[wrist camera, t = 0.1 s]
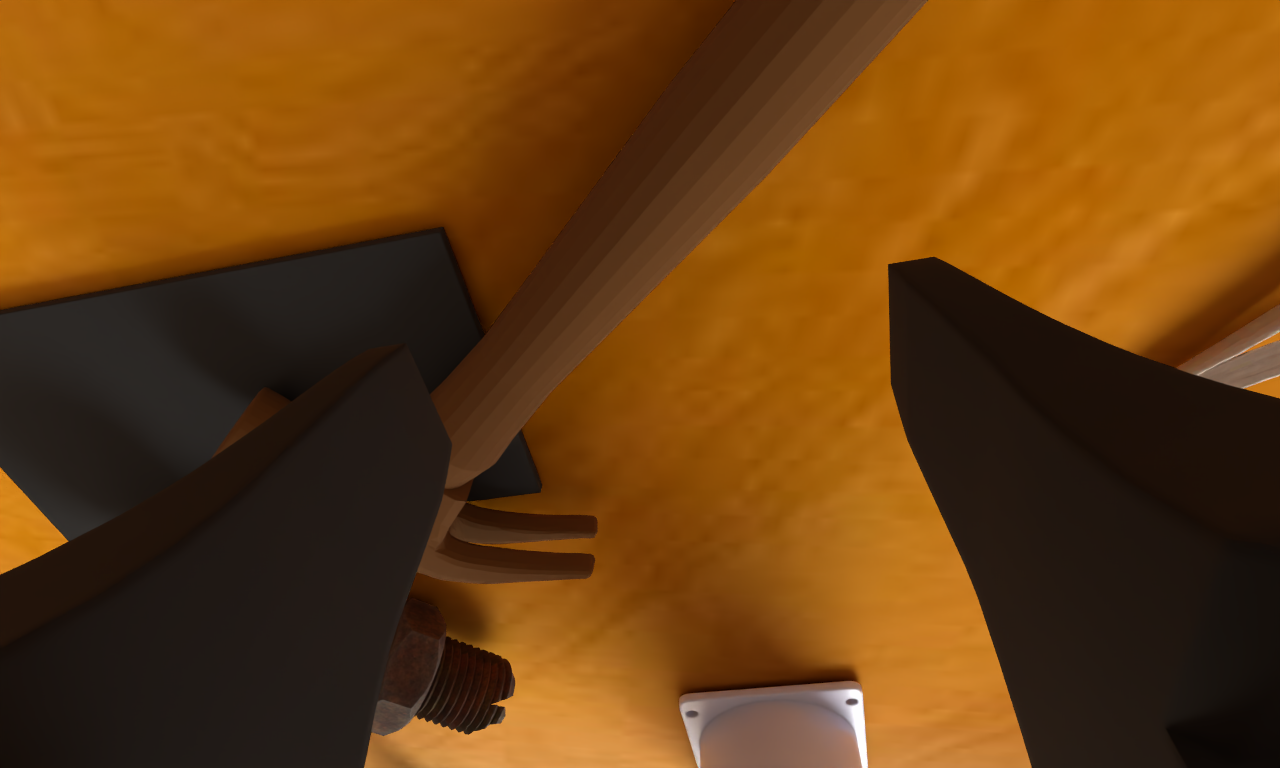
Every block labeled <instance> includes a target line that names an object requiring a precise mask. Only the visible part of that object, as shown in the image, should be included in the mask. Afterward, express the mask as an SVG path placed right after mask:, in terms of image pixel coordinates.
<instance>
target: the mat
mask: <svg viewBox="0 0 1280 768" xmlns="http://www.w3.org/2000/svg"><path fill="white" fill-rule="evenodd" d="M484 336H485V335H484V332H483V329H482V327H481V324H480V322H479V319H478V316H477V314H476V311H475V309H474V306H473V303H472V301H471V298H470V296H469V293H468V290H467V288H466V285H465V283H464V280H463V277H462V275H461V272H460V269H459V267H458V264H457V262H456V259H455V256H454V254H453V251H452V249H451V246H450V243H449V241H448V238H447V236H446V233H445V230H444V228H443V227H440V228H434V229H429V230H424V231H418V232H413V233H408V234H402V235H397V236H392V237H387V238H381V239H376V240H371V241H365V242H360V243H355V244H349V245H344V246H339V247H333V248H328V249H323V250H317V251H312V252H307V253H301V254H296V255H291V256H285V257H280V258H275V259H269V260H264V261H259V262H253V263H248V264H243V265H237V266H232V267H227V268H222V269H216V270H211V271H206V272H200V273H195V274H190V275H184V276H179V277H174V278H168V279H163V280H158V281H152V282H147V283H142V284H136V285H131V286H126V287H120V288H115V289H110V290H104V291H99V292H94V293H88V294H83V295H78V296H72V297H67V298H62V299H57V300H51V301H46V302H41V303H35V304H30V305H25V306H19V307H14V308H9V309H3V310H0V467H1V468H2V470H3V471H4V472H5V473H6V474H7V475H8V476H9V477H10V478H11V479H12V480H13V481H14V483H15V484H16V485H17V486H18V487H19V488H20V489H21V490H22V491H23V492H24V493H25V494H26V496H27V497H28V498H29V499H30V500H31V501H32V502H33V503H34V504H35V505H36V506H37V507H38V508H39V510H40V511H41V512H42V513H43V514H44V515H45V516H46V517H47V518H48V519H49V520H50V521H51V523H52V524H53V525H54V526H55V527H56V528H57V529H58V530H59V531H60V532H61V533H62V534H63V536H64V537H65V538H66V539H67V540H68V541H71V540H73V539H75V538H77V537H78V536H80V535H82V534H84V533H86V532H88V531H90V530H92V529H94V528H96V527H98V526H100V525H102V524H104V523H106V522H108V521H110V520H111V519H113V518H115V517H117V516H119V515H121V514H122V513H124V512H126V511H128V510H130V509H131V508H133V507H135V506H136V505H138V504H140V503H141V502H143V501H145V500H147V499H148V498H150V497H152V496H153V495H155V494H157V493H158V492H160V491H162V490H163V489H165V488H167V487H168V486H170V485H172V484H173V483H175V482H176V481H178V480H180V479H181V478H183V477H184V476H186V475H188V474H189V473H191V472H192V471H194V470H195V469H197V468H198V467H200V466H201V465H203V464H204V463H206V462H207V461H209V460H210V459H211V458H212V457H213V455H214V454H215V452H216V451H217V449H218V448H219V446H220V445H221V443H222V442H223V440H224V439H225V438H226V436H227V435H228V433H229V432H230V430H231V429H232V428H233V426H234V425H235V423H236V422H237V421H238V419H239V418H240V416H241V415H242V414H243V412H244V411H245V410H246V408H247V407H248V405H249V404H250V403H251V402H252V400H253V399H254V398H255V396H256V395H257V394H258V392H259V391H261V390H262V389H263V388H264V387H267V388H270V389H271V390H273V391H275V392H277V393H278V394H280V395H282V396H284V397H285V398H287V399H288V400H290V401H291V402H292V401H293V400H295V399H296V398H297V397H299V396H300V395H301V394H303V393H304V392H305V391H307V390H308V389H309V388H311V387H312V386H314V385H315V384H316V383H318V382H319V381H320V380H322V379H323V378H325V377H326V376H327V375H329V374H330V373H332V372H333V371H334V370H336V369H337V368H339V367H340V366H342V365H343V364H345V363H346V362H348V361H349V360H351V359H352V358H354V357H356V356H357V355H359V354H361V353H363V352H365V351H367V350H368V349H371V348H378V347H384V346H390V345H396V344H402V343H406V344H407V346H408V348H409V350H410V353H411V355H412V357H413V359H414V361H415V364H416V366H417V368H418V370H419V372H420V374H421V377H422V379H423V381H424V383H425V385H426V388H427V390H428V392H429V394H431V393H432V392H433V391H434V390H435V389H436V388H437V387H438V386H439V385H440V384H441V383H442V382H443V381H444V380H445V379H446V378H447V377H448V376H449V375H450V374H451V372H452V371H453V370H454V369H455V368H456V367H457V366H458V365H459V364H460V363H461V361H462V360H463V359H464V358H465V357H466V356H467V355H468V354H469V353H470V351H471V350H472V349H473V348H474V347H475V346H476V345H477V344H478V343H479V342H480V340H481V339H482V338H483V337H484ZM541 489H542V483H541V481H540V478H539V475H538V473H537V470H536V468H535V465H534V462H533V460H532V457H531V455H530V452H529V449H528V447H527V444H526V441H525V439H524V436H523V434H522V431H521V430H520V431H519V432H518V433H517V435H516V436H515V437H514V438H513V440H512V441H511V442H510V444H509V445H508V447H507V448H506V449H505V451H504V452H503V454H502V455H501V456H500V458H499V459H498V461H497V462H496V463H495V464H494V465H493V466H491V467H490V468H488V469H487V470H485V471H484V472H482V473H481V474H479V475H478V476H476V477H475V478H474V479H473V482H472V485H471V489H470V492H469V495H468V498H467V502H469V501H477V500H485V499H493V498H500V497H508V496H516V495H524V494H532V493H540V492H541Z"/></svg>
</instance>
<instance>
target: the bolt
mask: <svg viewBox="0 0 1280 768" xmlns="http://www.w3.org/2000/svg"><path fill="white" fill-rule="evenodd" d="M514 687H515V678H514V676H513V673H512V668H511V665H510V663H509V662H508V661H507V660H506V659H502V658H501V656H499V655H495V654H494V653H492V652H490V653H488V652H487V651H485V650H480V648H479V647H478V648H473V646H472V645H466V643H464V642H460V643H459V642H458V640H457V639H454V640H451V638H450V637H448V636H446V623H445V621H444V618H443V616H442V615H441V613H440V611H439V610H438V608H437V607H435V606H432V605H430V604H427V603H425V602H422V601H419V600H417V599H414V598H411V599H409V600H407V601H406V603H405V606H404V609H403V612H402V614H401V617H400V620H399V623H398V626H397V629H396V632H395V636H394V639H393V642H392V645H391V649H390V652H389V656H388V660H387V665H386V669H385V673H384V677H383V681H382V686H381V690H380V694H379V698H378V702H377V707H376V711H375V716H374V721H373V725H372V730H371V732H373V733H376V734H379V735H382V736H384V735H387V734H390V733H393V732H396V731H398V730H400V729H402V728H403V727H404V726H406V725H407V724H408V723H409V722H410V721H411V719H412V718H413V717H414V716H416V715H417V717H418V719H422V718H425V720H426V721H427V722H428V721H431V720H432V721H433V723H434V724H438V723H440V724H441V726H442V727H446V726H448V727H449V728H450V729H451V730H453V729H455V728H456V730H457V731H458V732H461V731H464V733H465V734H470V733H472V732H473V731H478V730H481V729H485V728H486V727H487V726H488V725H490V724H499V723H501V722H502V720H503V719H504V717H505V707H499V706H498V705H491V704H493V703H496V702H499V701H501V700H505V699H508V698H509V697H511V696H513V693H514Z"/></svg>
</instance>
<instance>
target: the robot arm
mask: <svg viewBox="0 0 1280 768" xmlns="http://www.w3.org/2000/svg"><path fill="white" fill-rule="evenodd" d="M888 277H889V321H890V365H891V386H892V389H893V393H894V396H895V400H896V403H897V407H898V410H899V414H900V417H901V420H902V424H903V427H904V430H905V433H906V437H907V440H908V442H909V444H910V447H911V449H912V451H913V454H914V456H915V458H916V460H917V462H918V465H919V467H920V469H921V471H922V473H923V476H924V478H925V480H926V482H927V484H928V487H929V489H930V491H931V493H932V495H933V497H934V500H935V502H936V504H937V506H938V508H939V510H940V512H941V515H942V517H943V519H944V521H945V523H946V525H947V528H948V530H949V532H950V534H951V536H952V538H953V541H954V543H955V545H956V547H957V549H958V551H959V554H960V556H961V558H962V560H963V562H964V564H965V567H966V569H967V572H968V574H969V577H970V579H971V581H972V584H973V586H974V589H975V591H976V594H977V597H978V599H979V602H980V605H981V608H982V611H983V615H984V618H985V621H986V624H987V627H988V630H989V633H990V636H991V639H992V642H993V645H994V648H995V651H996V654H997V657H998V660H999V663H1000V666H1001V669H1002V672H1003V675H1004V679H1005V682H1006V685H1007V688H1008V691H1009V694H1010V698H1011V701H1012V704H1013V707H1014V710H1015V713H1016V717H1017V720H1018V723H1019V726H1020V729H1021V733H1022V736H1023V739H1024V742H1025V746H1026V749H1027V753H1028V756H1029V759H1030V763H1031V766H1032V768H1280V399H1279V398H1275V397H1272V396H1268V395H1264V394H1260V393H1257V392H1253V391H1249V390H1246V389H1242V388H1238V387H1234V386H1231V385H1227V384H1224V383H1220V382H1217V381H1214V380H1210V379H1207V378H1204V377H1201V376H1197V375H1194V374H1191V373H1188V372H1185V371H1182V370H1179V369H1176V368H1174V367H1171V366H1168V365H1165V364H1162V363H1159V362H1156V361H1154V360H1151V359H1148V358H1145V357H1142V356H1139V355H1136V354H1134V353H1131V352H1129V351H1126V350H1123V349H1121V348H1118V347H1116V346H1113V345H1111V344H1108V343H1106V342H1104V341H1101V340H1099V339H1097V338H1095V337H1092V336H1090V335H1088V334H1085V333H1083V332H1081V331H1079V330H1076V329H1074V328H1072V327H1070V326H1067V325H1065V324H1063V323H1061V322H1059V321H1057V320H1055V319H1052V318H1050V317H1048V316H1046V315H1044V314H1042V313H1040V312H1038V311H1036V310H1034V309H1032V308H1030V307H1028V306H1026V305H1024V304H1022V303H1020V302H1019V301H1017V300H1015V299H1013V298H1011V297H1009V296H1007V295H1005V294H1003V293H1002V292H1000V291H998V290H996V289H994V288H992V287H991V286H989V285H987V284H985V283H983V282H981V281H980V280H978V279H976V278H974V277H972V276H971V275H969V274H967V273H965V272H963V271H961V270H960V269H958V268H956V267H954V266H952V265H950V264H948V263H946V262H944V261H942V260H940V259H938V258H936V257H930V258H924V259H918V260H911V261H905V262H899V263H893V264H888ZM451 450H452V442H451V440H450V438H449V436H448V434H447V431H446V429H445V427H444V425H443V423H442V420H441V418H440V416H439V414H438V412H437V410H436V407H435V405H434V403H433V401H432V399H431V396H430V394H429V392H428V390H427V388H426V385H425V383H424V381H423V379H422V377H421V374H420V372H419V370H418V368H417V366H416V364H415V361H414V359H413V357H412V355H411V353H410V350H409V348H408V346H407V344H406V343H402V344H396V345H390V346H384V347H378V348H371V349H368V350H367V351H365V352H363V353H361V354H359V355H357V356H356V357H354V358H352V359H351V360H349V361H348V362H346V363H345V364H343V365H342V366H340V367H339V368H337V369H336V370H334V371H333V372H332V373H330V374H329V375H327V376H326V377H325V378H323V379H322V380H320V381H319V382H318V383H316V384H315V385H314V386H312V387H311V388H309V389H308V390H307V391H305V392H304V393H303V394H301V395H300V396H299V397H297V398H296V399H295V400H293V401H292V402H290V403H289V404H288V405H286V406H285V407H284V408H282V409H281V410H280V411H278V412H277V413H276V414H274V415H273V416H271V417H270V418H269V419H267V420H266V421H265V422H263V423H262V424H261V425H259V426H258V427H256V428H255V429H253V430H252V431H251V432H249V433H248V434H246V435H245V436H243V437H242V438H240V439H239V440H238V441H236V442H235V443H233V444H232V445H230V446H229V447H227V448H226V449H225V450H223V451H222V452H220V453H219V454H217V455H216V456H215V457H213V458H212V459H210V460H209V461H207V462H206V463H204V464H203V465H201V466H200V467H198V468H197V469H195V470H194V471H192V472H191V473H189V474H188V475H186V476H184V477H183V478H181V479H180V480H178V481H176V482H175V483H173V484H172V485H170V486H168V487H167V488H165V489H163V490H162V491H160V492H158V493H157V494H155V495H153V496H152V497H150V498H148V499H147V500H145V501H143V502H141V503H140V504H138V505H136V506H135V507H133V508H131V509H130V510H128V511H126V512H124V513H122V514H121V515H119V516H117V517H115V518H113V519H111V520H110V521H108V522H106V523H104V524H102V525H100V526H98V527H96V528H94V529H92V530H90V531H88V532H86V533H84V534H82V535H80V536H78V537H77V538H75V539H73V540H71V541H69V542H67V543H65V544H63V545H61V546H59V547H57V548H55V549H53V550H51V551H49V552H47V553H46V554H44V555H42V556H40V557H38V558H36V559H33V560H31V561H29V562H27V563H25V564H23V565H21V566H19V567H16V568H14V569H12V570H10V571H8V572H5V573H3V574H1V575H0V768H364V765H365V760H366V755H367V750H368V745H369V740H370V735H371V730H372V725H373V721H374V716H375V711H376V707H377V702H378V698H379V694H380V690H381V686H382V681H383V677H384V673H385V669H386V665H387V660H388V656H389V652H390V649H391V645H392V642H393V639H394V636H395V632H396V629H397V626H398V623H399V620H400V617H401V614H402V612H403V609H404V606H405V603H406V601H407V598H408V595H409V592H410V589H411V587H412V584H413V581H414V578H415V576H416V573H417V570H418V567H419V565H420V562H421V559H422V556H423V553H424V551H425V548H426V545H427V542H428V540H429V537H430V534H431V531H432V528H433V525H434V522H435V519H436V517H437V514H438V511H439V508H440V505H441V502H442V498H443V493H444V489H445V484H446V479H447V474H448V468H449V462H450V456H451ZM679 709H680V712H681V715H682V718H683V721H684V724H685V728H686V731H687V734H688V737H689V740H690V744H691V747H692V750H693V753H694V756H695V759H696V763H697V766H698V768H868V762H867V747H866V733H865V718H864V704H863V692H862V688H861V685H860V684H859V683H857V682H855V681H841V682H828V683H816V684H803V685H790V686H778V687H765V688H752V689H740V690H727V691H714V692H702V693H689V694H684V695H682V696H681V697H680V698H679Z"/></svg>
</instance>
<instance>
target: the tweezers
mask: <svg viewBox="0 0 1280 768" xmlns="http://www.w3.org/2000/svg"><path fill="white" fill-rule="evenodd" d="M1278 332H1280V304H1279V305H1277V306H1276V307H1274V308H1272V309H1271V310H1269V311H1268V312H1266V313H1264V314H1263V315H1261V316H1260V317H1258V318H1256V319H1255V320H1253V321H1252V322H1250V323H1248V324H1247V325H1245V326H1244V327H1242V328H1240V329H1239V330H1237V331H1236V332H1234V333H1232V334H1231V335H1229V336H1228V337H1226V338H1224V339H1223V340H1221V341H1219V342H1218V343H1216V344H1215V345H1213V346H1211V347H1210V348H1208V349H1206V350H1205V351H1203V352H1201V353H1200V354H1198V355H1197V356H1195V357H1193V358H1192V359H1190V360H1188V361H1187V362H1185V363H1184V364H1182V365H1180V366H1179V367H1177V368H1176V369H1179V370H1182V371H1185V372H1188V373H1191V374H1194V375H1197V376H1201V377H1204V378H1207V379H1210V380H1214V381H1217V382H1220V383H1224V384H1227V385H1231V386H1234V387H1238V388H1242V389H1243V388H1246V387H1249V386H1252V385H1254V384H1257V383H1259V382H1262V381H1265V380H1268V379H1271V378H1274V377H1277V376H1280V340H1279V341H1276V342H1273V343H1270V344H1267V345H1265V346H1262V347H1259V348H1257V349H1254V350H1251V351H1249V352H1246V353H1243V352H1244V351H1246V350H1248V349H1249V348H1251V347H1253V346H1254V345H1256V344H1258V343H1260V342H1262V341H1264V340H1266V339H1268V338H1269V337H1271V336H1273V335H1275V334H1277V333H1278ZM1241 353H1243V354H1241ZM1239 354H1240V355H1239ZM1237 355H1238V356H1237Z"/></svg>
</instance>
